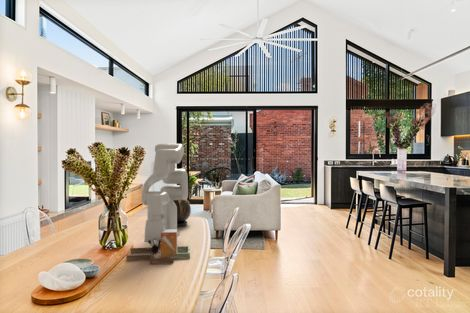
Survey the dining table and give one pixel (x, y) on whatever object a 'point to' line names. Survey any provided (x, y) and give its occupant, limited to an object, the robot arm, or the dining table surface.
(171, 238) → the small box
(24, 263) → the dining table surface
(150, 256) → the trap track
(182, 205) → the amphora vase
